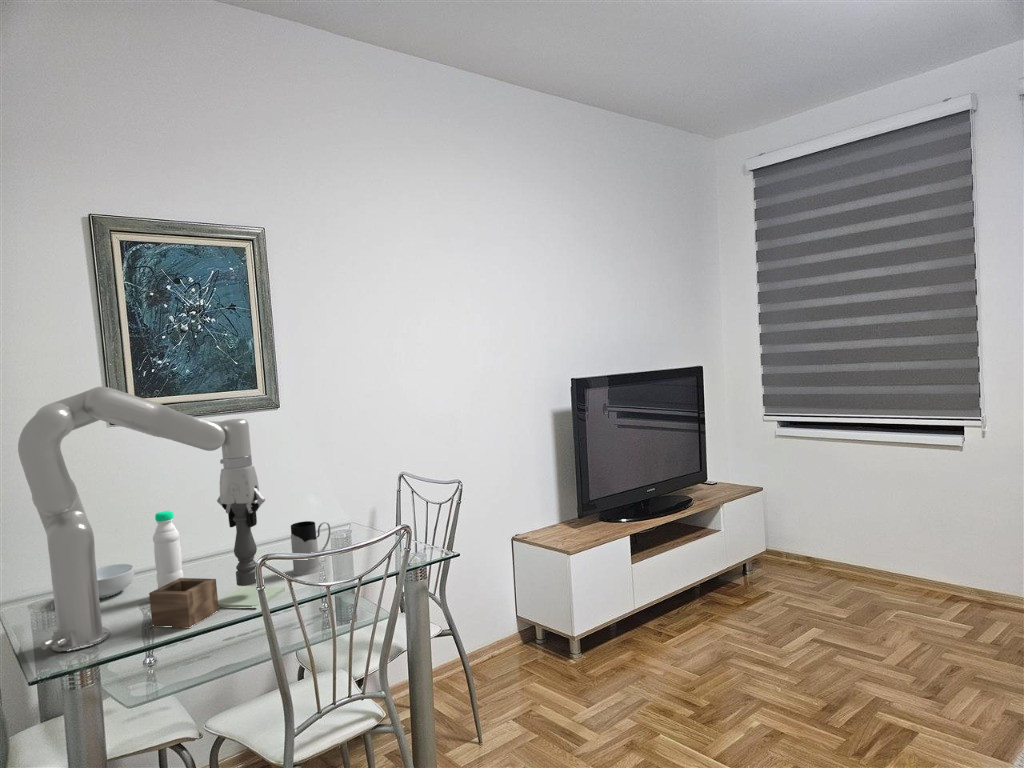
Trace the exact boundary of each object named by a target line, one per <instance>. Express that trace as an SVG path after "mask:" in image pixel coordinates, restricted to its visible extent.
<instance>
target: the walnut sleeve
mask: <svg viewBox="0 0 1024 768" xmlns="http://www.w3.org/2000/svg"><path fill="white" fill-rule="evenodd" d="M217 589H218V588H217V579H216V578H192V577H189V578H188V577H183V578H179V579H177V580H175V581H173V582H171V583H169V584H167V585H165V586H163V587H161V588H158V587H157V589H155V590H153V591H151V592H148V596H149V606H150V607H149V608H150V615H151V616H150V617H151V625H152V624H153V625H154V626H172V627H191V626H192V625H194V624H196V623H198V622H200V621H201V622H203V621H205V620H206V619H208V618H210V617H211V616H213V615H214V614H213V613H215V612H216V611H218V610H220V608H218V600H219V599H218V597H219V596H218V590H217ZM218 612H219V611H218ZM216 613H217V612H216ZM216 613H215V614H216ZM212 614H213V615H212ZM210 615H211V616H210ZM209 616H210V617H209ZM207 617H208V618H207ZM205 618H206V619H205ZM204 619H205V620H204ZM202 620H203V621H202ZM201 622H200V623H201ZM198 624H199V623H198ZM196 625H197V624H196ZM191 628H192V627H191Z"/></svg>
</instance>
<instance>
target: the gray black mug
mask: <svg viewBox="0 0 1024 768" xmlns="http://www.w3.org/2000/svg"><path fill="white" fill-rule="evenodd" d="M324 524H326V525H327V527H328V534H327V535H328V536H327V539H326V543H325V544H324V546H323V548H322V549H321V551H323V552H324V551H325V549H326V548H327V546H328V544H329V542H330V538H331V526H330V524H329V523H328V522H325V521H324V522H321V523H320V524H319V525H318V526H317V527H318V528H317V527H316V522H315V521H310V520H309V521H307V520H306V521H299V522H295V523H293V524H290V533H291V534H290V541H291V542H290V543H291V553H311V552H318V553H319V548H318V538H319V537H320V535H321V531H320V530H321V527H322V525H324ZM316 528H317V531H316ZM321 551H320V552H321ZM319 558H320V557H319ZM319 558H315V559H308V560H293V559H292V565H293V567H292V568H293V569H292V574H293V575H295V576H306V575H307V576H308V575H312V574H315V573H318V572H320V571H321V566H320V559H319Z"/></svg>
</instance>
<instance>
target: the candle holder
mask: <svg viewBox="0 0 1024 768" xmlns="http://www.w3.org/2000/svg"><path fill="white" fill-rule="evenodd" d="M251 506H252V505H251ZM231 509H232V511H233V512H234V514H235V516H234V517H233V521H235V523H236V526H235V528H236V530H235V531H236V533H235V540H234V548H233V554H234V556H235V558H237V561H238V563H237V565H236V566H235V567H236V568H235V569H236V571H235V580H236V585H237V586H239V587H242V586H253V585H256V584H257V583H256V579H255V567H256V564H257V565H258V562H256V560H255V555H256V554H257V550H258V548H257V545H256V542H255V539H254V535H253V533H252V527H248V521H247V514H248V513H249V512H248V509H247V506H246V504H237V503H236V501H235V503H233V504H231Z"/></svg>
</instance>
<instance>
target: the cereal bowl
mask: <svg viewBox="0 0 1024 768" xmlns="http://www.w3.org/2000/svg"><path fill="white" fill-rule="evenodd" d="M96 573H97V582H98V592H99V598H102V599H106V598H105V597H107V598H110V597H109V596H111V597H113V596H116V595H118V594H119V593H120V592H121V591H122V590H124V589H126V588H128V587H129V586H130V585H131V584H132V582H133V581H134V577H135V566H134V565H133V564H130V563H128V564H127V563H118V564H117V563H115V564H108V565H102V566H96ZM117 593H118V594H117ZM115 594H116V595H115ZM112 595H113V596H112Z"/></svg>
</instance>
